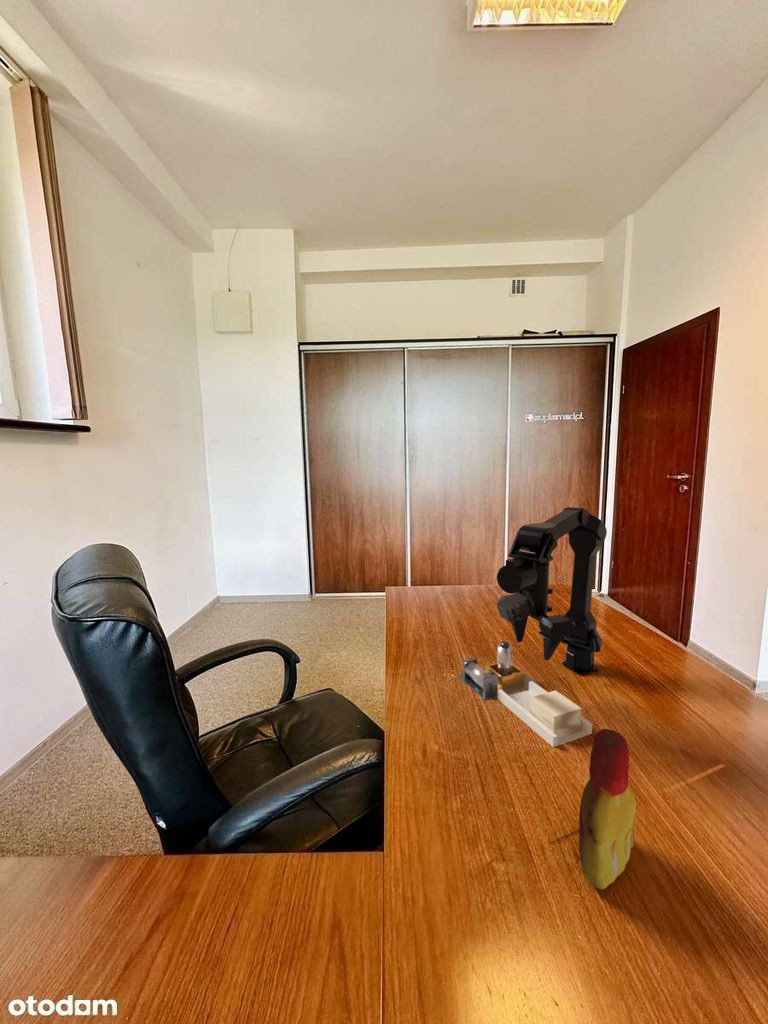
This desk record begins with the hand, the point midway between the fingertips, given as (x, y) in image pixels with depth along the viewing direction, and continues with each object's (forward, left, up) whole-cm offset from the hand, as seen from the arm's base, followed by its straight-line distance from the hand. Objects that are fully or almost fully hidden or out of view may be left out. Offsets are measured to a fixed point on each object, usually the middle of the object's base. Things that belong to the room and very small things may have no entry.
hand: (532, 650), depth 91 cm
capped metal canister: (-1, -11, -13) cm, 17 cm away
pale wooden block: (+1, +8, -13) cm, 15 cm away
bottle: (+16, +33, -14) cm, 39 cm away
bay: (+1, +4, -13) cm, 14 cm away
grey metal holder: (+1, -11, -13) cm, 17 cm away
